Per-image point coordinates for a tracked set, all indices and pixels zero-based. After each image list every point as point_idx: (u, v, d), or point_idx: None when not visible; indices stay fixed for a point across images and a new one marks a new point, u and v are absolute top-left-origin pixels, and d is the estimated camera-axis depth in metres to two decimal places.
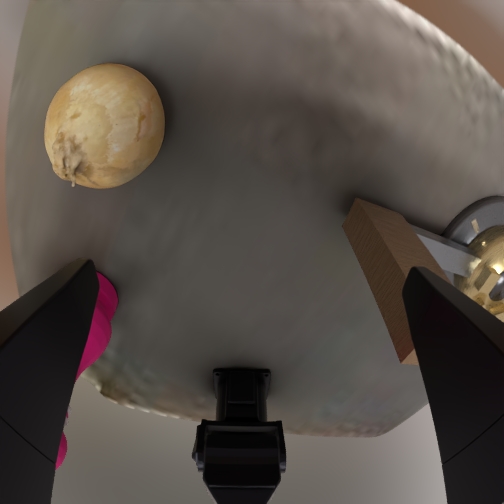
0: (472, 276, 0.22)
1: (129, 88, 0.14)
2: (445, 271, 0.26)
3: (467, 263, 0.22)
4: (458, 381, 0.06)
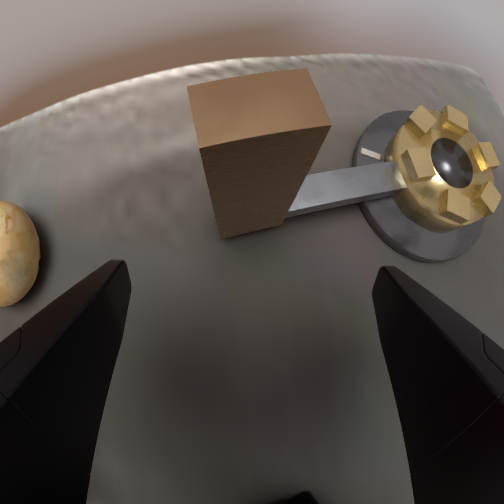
0: (406, 181, 0.19)
1: None
2: (391, 218, 0.22)
3: (383, 173, 0.19)
4: (424, 388, 0.06)
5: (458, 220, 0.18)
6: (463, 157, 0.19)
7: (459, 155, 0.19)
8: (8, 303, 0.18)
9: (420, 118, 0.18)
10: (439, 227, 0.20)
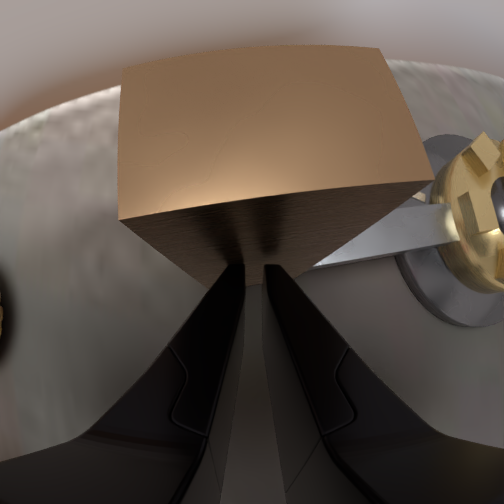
0: (460, 232, 0.14)
1: None
2: (436, 279, 0.16)
3: (434, 219, 0.14)
4: (282, 402, 0.06)
5: None
6: None
7: None
8: None
9: (483, 150, 0.13)
10: (488, 290, 0.15)
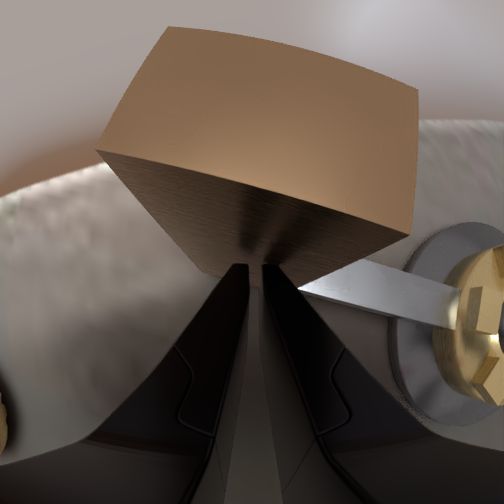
0: (458, 322, 0.13)
1: None
2: (430, 392, 0.15)
3: (438, 299, 0.13)
4: (278, 402, 0.06)
5: (486, 399, 0.11)
6: None
7: None
8: None
9: None
10: (461, 390, 0.13)
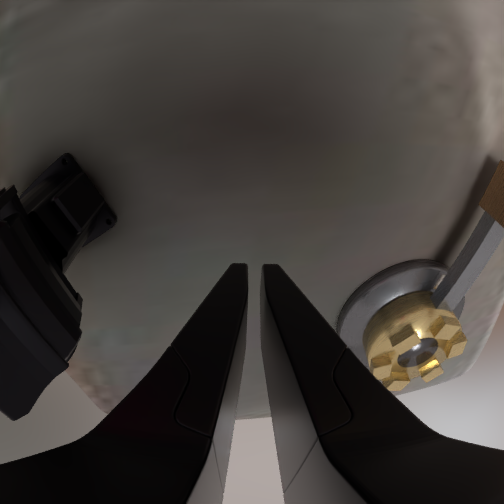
0: (440, 311, 0.22)
1: None
2: (386, 293, 0.24)
3: (455, 298, 0.22)
4: (280, 403, 0.06)
5: (395, 337, 0.22)
6: (410, 363, 0.25)
7: (415, 360, 0.25)
8: None
9: (459, 347, 0.23)
10: (388, 316, 0.24)
